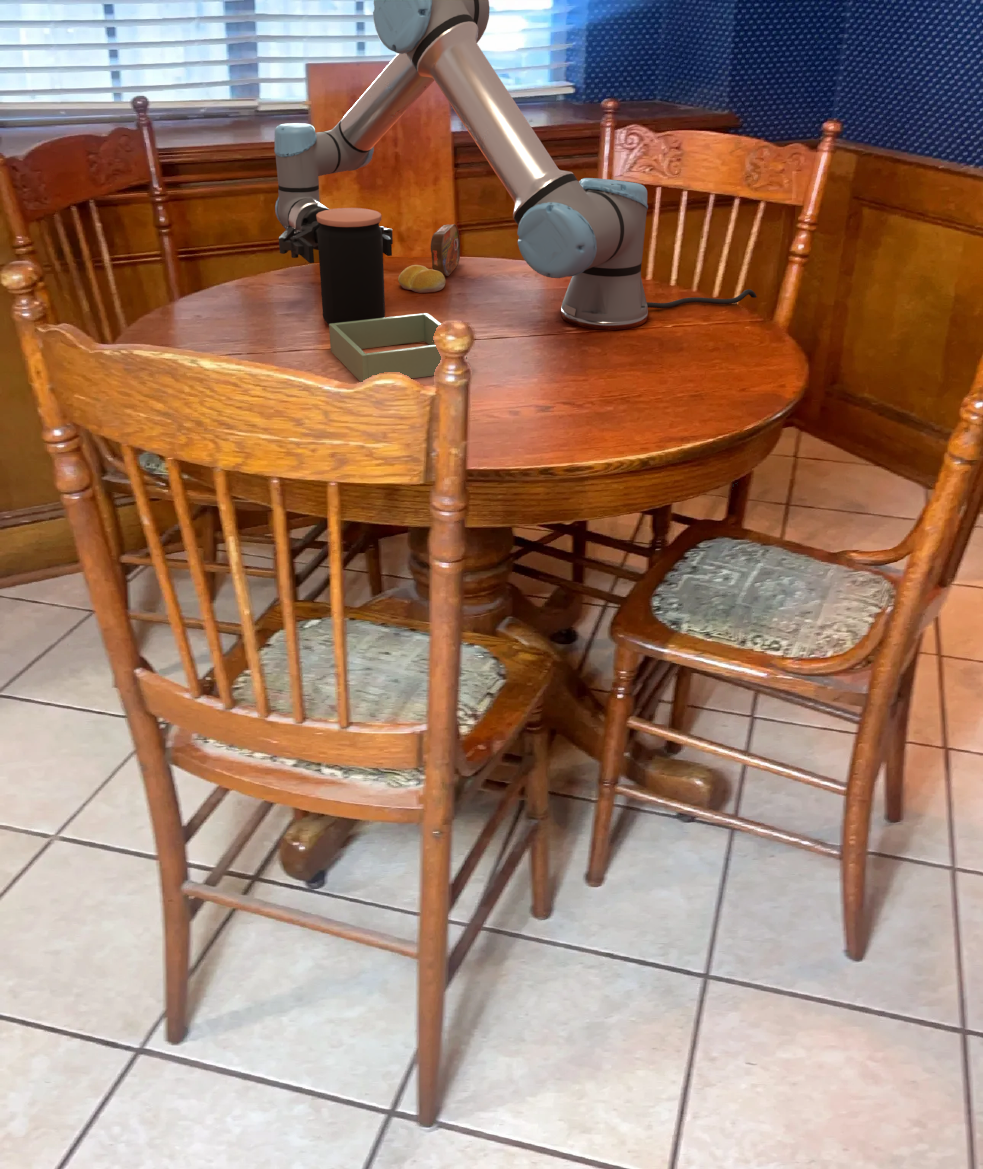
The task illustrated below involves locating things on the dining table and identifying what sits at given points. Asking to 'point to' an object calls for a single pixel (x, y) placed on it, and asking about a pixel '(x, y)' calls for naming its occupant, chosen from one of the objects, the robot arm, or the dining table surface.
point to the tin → (445, 249)
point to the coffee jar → (351, 264)
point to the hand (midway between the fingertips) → (351, 251)
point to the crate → (386, 333)
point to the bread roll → (421, 279)
